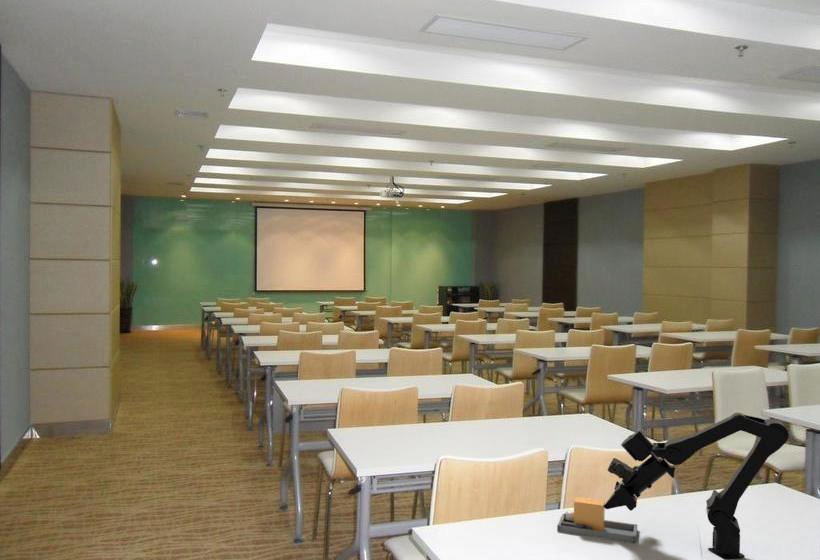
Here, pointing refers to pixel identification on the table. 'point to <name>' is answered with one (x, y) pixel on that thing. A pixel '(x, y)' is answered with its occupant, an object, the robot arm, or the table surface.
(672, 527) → the table surface
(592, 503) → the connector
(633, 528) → the tray
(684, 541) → the table surface
